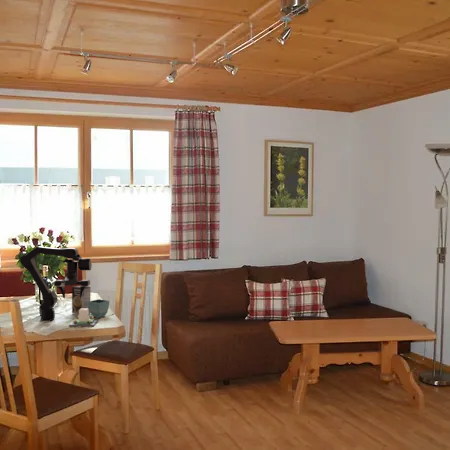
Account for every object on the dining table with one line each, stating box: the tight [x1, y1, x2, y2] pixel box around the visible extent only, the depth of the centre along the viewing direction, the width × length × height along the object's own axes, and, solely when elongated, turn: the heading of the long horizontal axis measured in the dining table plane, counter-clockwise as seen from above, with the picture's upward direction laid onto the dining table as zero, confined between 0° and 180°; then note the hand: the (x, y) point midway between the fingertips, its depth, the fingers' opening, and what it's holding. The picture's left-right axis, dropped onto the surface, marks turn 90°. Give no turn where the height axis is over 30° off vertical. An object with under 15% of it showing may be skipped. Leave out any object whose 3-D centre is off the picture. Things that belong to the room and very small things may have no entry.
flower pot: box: [88, 298, 110, 318], centre depth 318 cm, size 9×9×9 cm
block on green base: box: [72, 308, 95, 324], centre depth 299 cm, size 10×10×7 cm
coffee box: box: [71, 285, 91, 316], centre depth 326 cm, size 9×6×16 cm
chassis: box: [68, 315, 99, 328], centre depth 299 cm, size 13×13×4 cm
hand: (72, 298), depth 309 cm, fingers open, 9 cm apart
